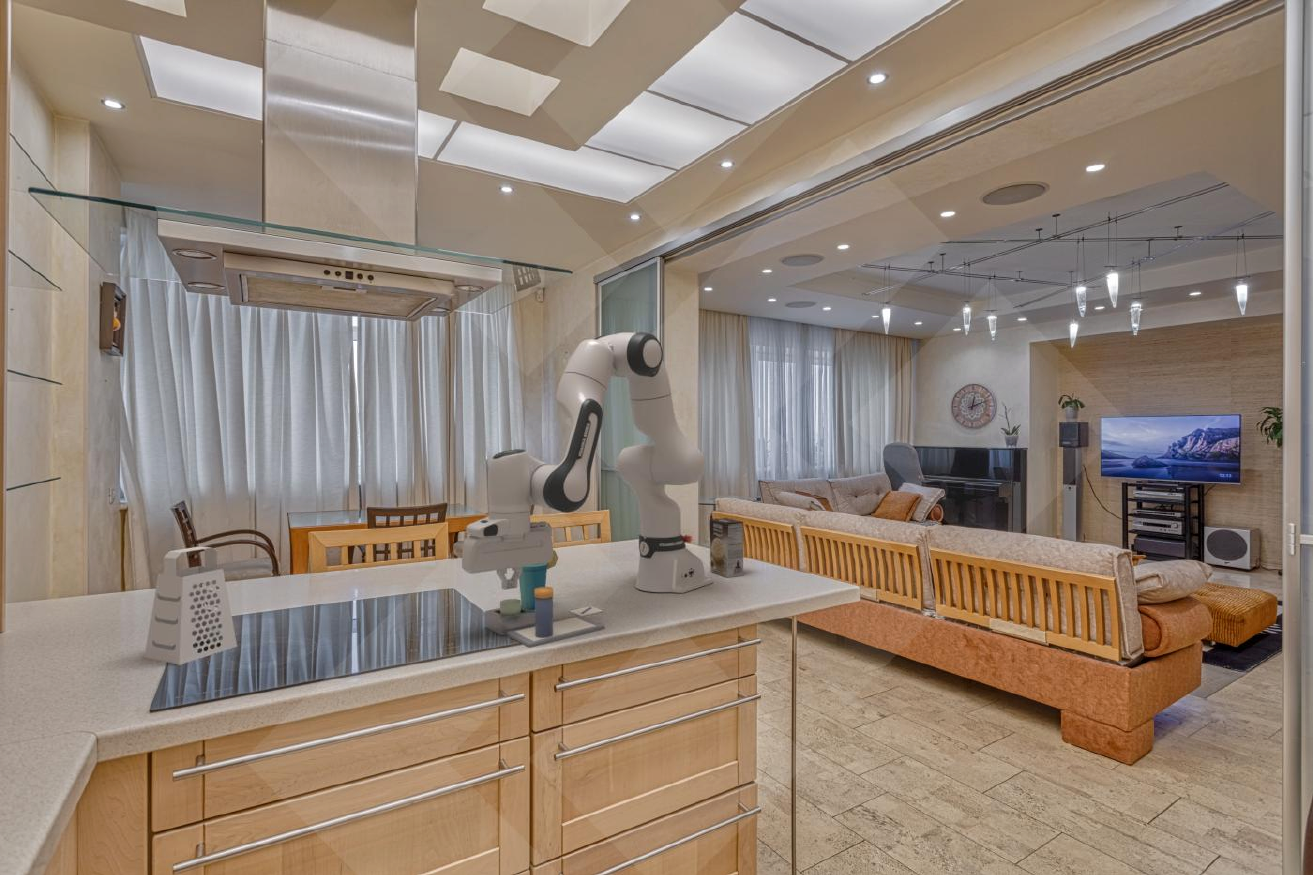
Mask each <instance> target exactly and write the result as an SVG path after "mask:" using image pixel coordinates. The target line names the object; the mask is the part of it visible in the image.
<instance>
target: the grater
mask: <svg viewBox="0 0 1313 875" xmlns="http://www.w3.org/2000/svg"><path fill="white" fill-rule="evenodd" d="M201 550H204V566H202V565H198V566H193V567H187V568H182V569H177V559H178V557H180V555H181V554H182V553H187V552H193V551H201ZM217 555H218V553H217V550H215V549H214V548H213V547H209V546H193V547H188V548H181V549H175V550H169V551H168V552H167V553H166V554H165V556H164V557H163V571H164V572H159V573H158V574H157V579H156V586H155V591H154V598H153V604H152V610H151V614H150V615H151V617H150V622H149V628H148V634H147V640H146V646H145V653H144V658H145V659H149V660H154V661H159V662H164V663H168V664H174V665H178V666H181V665H183V664H187V663H190V662H194V661H196V660H200V659H203V658H205V657H208V656H212V655H211V654H213V655H215V654H214V653H216V654H218V652H219V653H222V652H225V651H228V650H230V649H234V648H237V647H238V643H237V639H236V633H235V628H234V622H233V617H232V616H233V615H232V611H231V605H230V599H229V593H228V589H227V583H226V578H225V577H226V576H225V572H224V569H223V568H218V562H217V561H218V559H217V558H218V556H217ZM211 588H212V590H211ZM205 605H206V606H205ZM209 608H211V609H209ZM214 608H217V609H214ZM213 629H214V630H213ZM201 642H203V645H200V644H201ZM207 642H208V643H207ZM194 644H197V646H196V647H194ZM217 644H220V646H217ZM212 645H214V647H213V648H211V646H212ZM206 647H207V648H208V649H207V650H204V648H206ZM199 649H201V652H198V650H199ZM227 649H228V650H227ZM224 650H225V651H224ZM221 651H222V652H221ZM199 658H200V659H199Z"/></svg>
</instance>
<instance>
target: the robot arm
mask: <svg viewBox="0 0 1313 875" xmlns="http://www.w3.org/2000/svg"><path fill="white" fill-rule="evenodd" d="M663 352H664V351H663V346H662V345H661V342H660V341H659V339H658V338H657V336H655V335H654V334H652V333H648V332H643V331H638V332H631V331H630V332H629V331H627V332H618V333H614V334H612V333H611V334H609V335H606V334H605V335H599V336H596V337H595V338H590V339H585V340H583V341H582V342H580V343H579V344H578V346H577V347H576V348H575V350H574V351H573V353H572V354H571V356H570V359H569V360H568V362H567V364H566V366H565V368H564V371H563V373H562V375H561V377H560V381H559V383H558V386H557V389H556V397H555V400H556V403H557V405H558V407H559V409H560V411H561V412H562V413H563V414H564V415H565V416H566V417H568V418H569V419H570V421H571V424H572V427H571V432H570V436H569V440H568V443H567V446H566V450H565V454H564V458H563V459H562V460H561V462H559V464H548V463H547V462H544V461H541V460H539V459H537V458H535V457H533V455H531V454H530V453H529V452H528V451H527V450H526V449H522V448H519V449H509V450H503V451H500V452H497V453H495V455H493V456H492V459H490V460H491V461H490V465H489V474H488V494H489V498H490V504H489V507H488V516H485V517H484V518H482V519H479V520H476V521H475V522H472V523H469V524H468V525H466V528H465V532H466V534H467V535H468V537H466V538H465V540H464V542H463V546H462V553H461V554H462V555H461V568H462V569H463V571H464V572H466V573H468V574H473V575H474V574H480V573H487V572H493V571H495V572H496V574H497V576H498V578H499V580H500V581H501V589H502V590H511V589H517V588H518V585H519V584H518V581H519V577H520V575H521V573H522V566H529V565H536V564H543V563H549V562H551V561H552V559H553V550H554V545H553V539H552V537H553V528H552V526H551V524H550V523H548V522H547V521H543V520H542V521H533V522H531V507H532V506H533V505H534V506H539V507H542V508H547V509H552V510H555V511H558V512H561V513H564V514H565V513H567V514H568V513H569V514H570V513H572V512H575V511H578V510H579V509H580V508H581V507H583V505H584V504H585V503H586V501H587V499H588V497H589V495H590V489H591V474H592V473H591V472H592V466H593V462H594V458H595V453H596V450H597V446H598V441H599V438H600V433H601V430H602V425H603V421H604V411H603V403H604V399H605V396H606V393H607V390H608V387H609V385H610V380H611V378H613V377H614V378H627V381H628V392H629V400H630V406H631V413H632V419H633V424H634V427H635V428H636V429H637V430H638V431H639V432H640V433H642V434H643V435H646V437H648V438H649V439H650V441H651V442H652V444H636V445H632V446H627V447H623V449H621V451H620V452H619V454H618V456H617V459H616V468H617V472H618V474H619V476H620V478H621V479H622V480H623V481H624V482H626V483H627V484H628V486H629V488H631V489H632V492H633V494H634V495H635V498H636V501H637V504H638V510H639V523H640V534H639V535H638V549H639V550H638V551H639V560H638V570H637V575H636V581H635V583H634V587H635V588H636V589H638V590H640V591H644V592H651V593H679V594H684V593H688V592H690V591H692V590H696V589H699V588H701V587H705V586H707V585H710V584H713V582H714V579H713V578H712V577H710V576H708V575H705V566H704V563H703V561H702V559H700V558H699V557H698V556H697V555H695V554H694V553H693V552H692V551H691V550H689V549H688V548H687V546H686V544H685V543H688V544H691V543H692V542H693V536H691V535H687V534H685V535H682V534H681V528H682V527H681V522H682V521H681V508H680V506H679V504H678V502H676V501H675V500H674V499H672V498H671V497H669V496H668V495H667V493H666V491H665V489H664V487H663V486H665V485H668V486H670V485H671V486H684V485H689V484H694V483H698V482H699V481H700V480H701V479H702V478H703V476H704V473H705V470H706V459H705V457H704V454H703V453H702V450H700V449H699V448H698V447H697V446H695V445H693V443H691V442H690V441H689V440H688V439H687V437H685V435H684V434H683V432H682V430H681V429H680V427H679V425H678V423H677V419H676V416H675V415H676V413H675V410H674V404H673V399H672V398H673V397H672V389H671V384H670V379H669V376H668V372H667V367H666V365H665V363H664V360H663V359H664V358H663V356H664V355H663V354H664V353H663ZM508 569H511V570H512V572H513V574H512V575H511V578H507V577H506V575H507V573H508Z"/></svg>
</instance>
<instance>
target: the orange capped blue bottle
mask: <svg viewBox="0 0 1313 875" xmlns="http://www.w3.org/2000/svg"><path fill="white" fill-rule="evenodd" d="M534 611H535V636H536V637H539V638H546V637H550V636H552V635H553V621H554V588H553V587H551V586H545V587H539V588H536V589H535V609H534Z"/></svg>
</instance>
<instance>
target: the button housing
mask: <svg viewBox="0 0 1313 875" xmlns="http://www.w3.org/2000/svg"><path fill="white" fill-rule="evenodd" d="M484 626H485V628H486V629H488V630H490V631H492V632H493V633H495V634H497V635H499V634H500V635H499V636H501V635H504V636H507V635H506V632H509V631H513V630H518V629H522V628H527V627H531V626H535V610H533V609H528V608H526V607H523V606H522V605H521V613H519V614H514V615H509V616H503V615H501V614H500V607H498V608H493V609H489V610H485V611H484Z"/></svg>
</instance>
